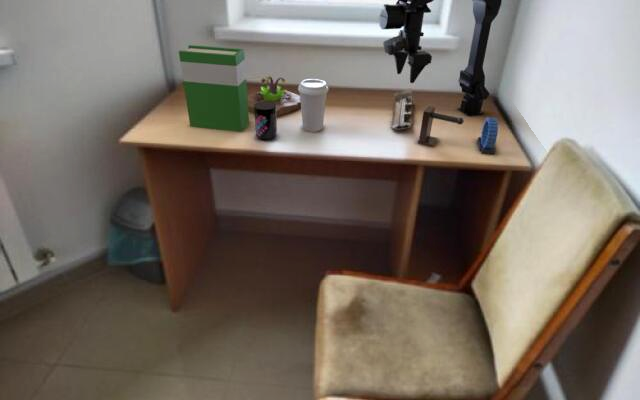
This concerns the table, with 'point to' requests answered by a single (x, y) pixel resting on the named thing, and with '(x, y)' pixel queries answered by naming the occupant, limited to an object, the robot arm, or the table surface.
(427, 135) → the hook stand
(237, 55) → the hardback book
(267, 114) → the supplement container
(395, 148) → the table surface
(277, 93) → the plant
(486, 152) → the tape cradle
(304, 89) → the coffee cup
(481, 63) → the robot arm
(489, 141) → the blue ridged ring
